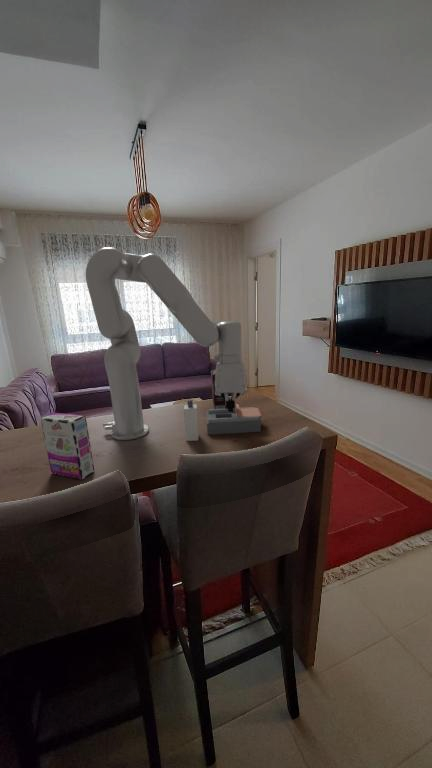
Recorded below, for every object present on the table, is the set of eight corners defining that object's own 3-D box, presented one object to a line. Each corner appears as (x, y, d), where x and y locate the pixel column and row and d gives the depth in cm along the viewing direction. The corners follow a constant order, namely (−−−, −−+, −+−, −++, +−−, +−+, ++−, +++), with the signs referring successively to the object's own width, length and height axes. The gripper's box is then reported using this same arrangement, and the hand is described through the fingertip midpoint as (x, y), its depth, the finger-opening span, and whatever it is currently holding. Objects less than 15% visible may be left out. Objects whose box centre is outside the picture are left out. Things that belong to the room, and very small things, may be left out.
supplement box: (212, 405, 135) (210, 369, 131) (223, 405, 135) (222, 368, 131) (214, 412, 127) (212, 374, 122) (226, 412, 127) (224, 373, 123)
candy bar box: (95, 471, 87) (86, 415, 83) (82, 480, 82) (72, 422, 78) (64, 465, 91) (54, 411, 87) (50, 474, 86) (38, 418, 82)
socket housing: (207, 434, 107) (206, 420, 105) (207, 422, 117) (206, 409, 116) (260, 431, 107) (260, 417, 106) (255, 419, 118) (255, 406, 116)
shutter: (238, 419, 107) (237, 411, 107) (235, 411, 115) (235, 403, 114) (261, 418, 108) (261, 410, 107) (257, 410, 115) (257, 402, 114)
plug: (186, 441, 103) (183, 403, 99) (186, 435, 107) (184, 399, 103) (198, 440, 103) (196, 402, 99) (198, 435, 107) (196, 398, 103)
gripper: (207, 361, 102) (209, 415, 107) (253, 360, 102) (253, 413, 107) (207, 357, 109) (208, 407, 114) (250, 356, 110) (250, 406, 114)
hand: (230, 410), depth 111 cm, fingers closed
